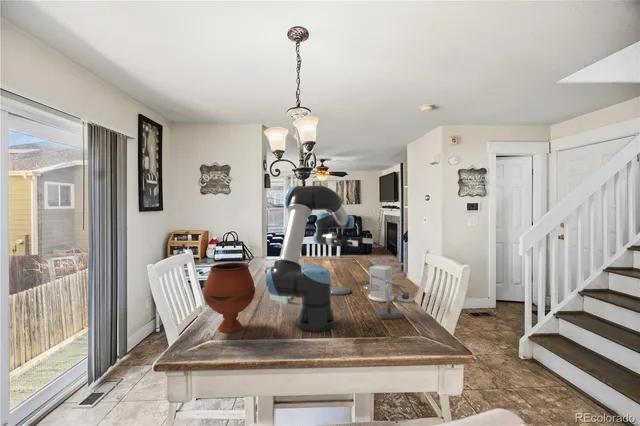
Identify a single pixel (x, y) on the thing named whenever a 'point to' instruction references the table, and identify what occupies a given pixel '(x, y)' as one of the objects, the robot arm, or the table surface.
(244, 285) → the goblet
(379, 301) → the cream dish
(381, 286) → the supplement box
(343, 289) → the charcoal dish
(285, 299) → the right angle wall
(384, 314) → the balance
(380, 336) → the table surface
